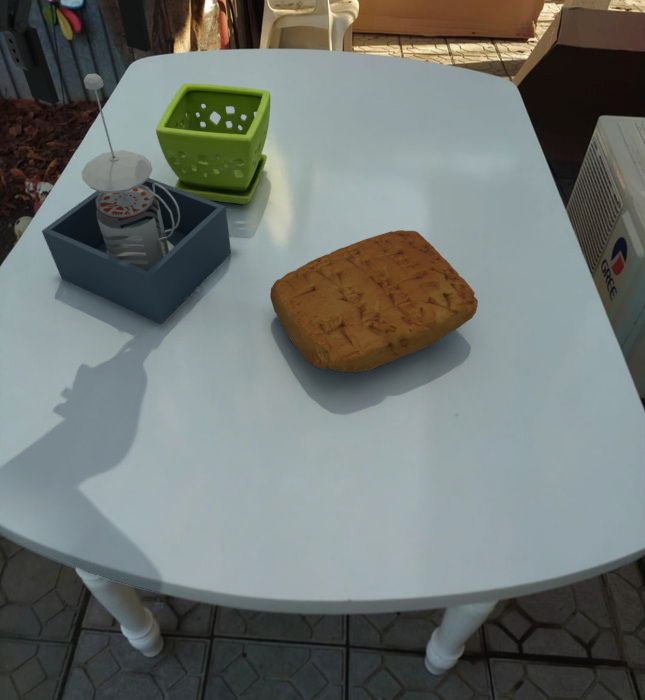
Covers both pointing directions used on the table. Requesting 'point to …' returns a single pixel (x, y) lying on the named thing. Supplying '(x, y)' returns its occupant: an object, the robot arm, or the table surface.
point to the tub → (133, 282)
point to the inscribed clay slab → (372, 302)
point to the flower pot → (216, 140)
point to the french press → (127, 202)
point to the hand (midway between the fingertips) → (95, 72)
